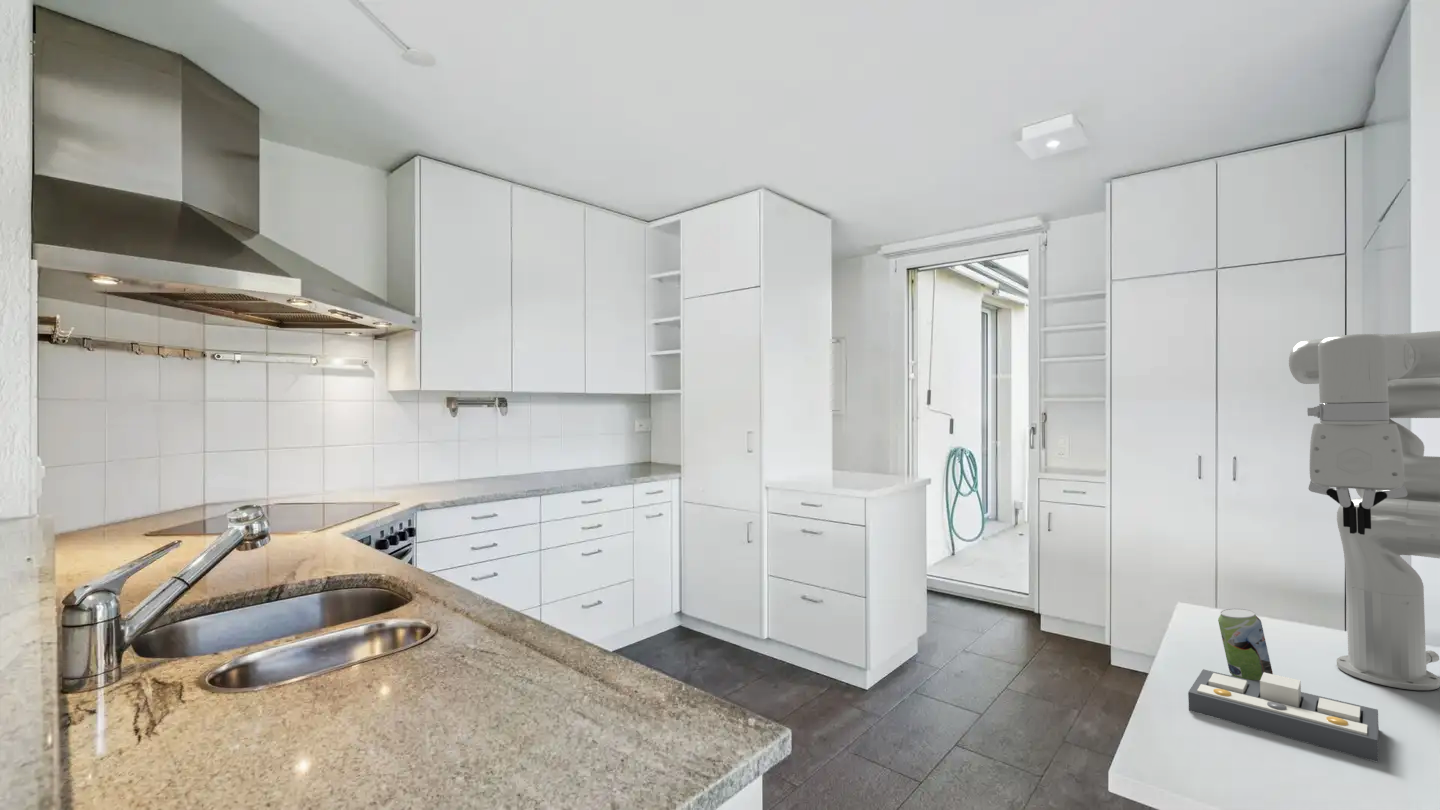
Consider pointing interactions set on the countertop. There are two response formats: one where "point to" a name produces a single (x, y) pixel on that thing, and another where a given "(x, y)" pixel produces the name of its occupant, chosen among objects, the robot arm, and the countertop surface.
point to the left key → (1228, 683)
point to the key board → (1288, 717)
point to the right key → (1339, 709)
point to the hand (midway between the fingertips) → (1357, 532)
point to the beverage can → (1244, 644)
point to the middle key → (1280, 689)
